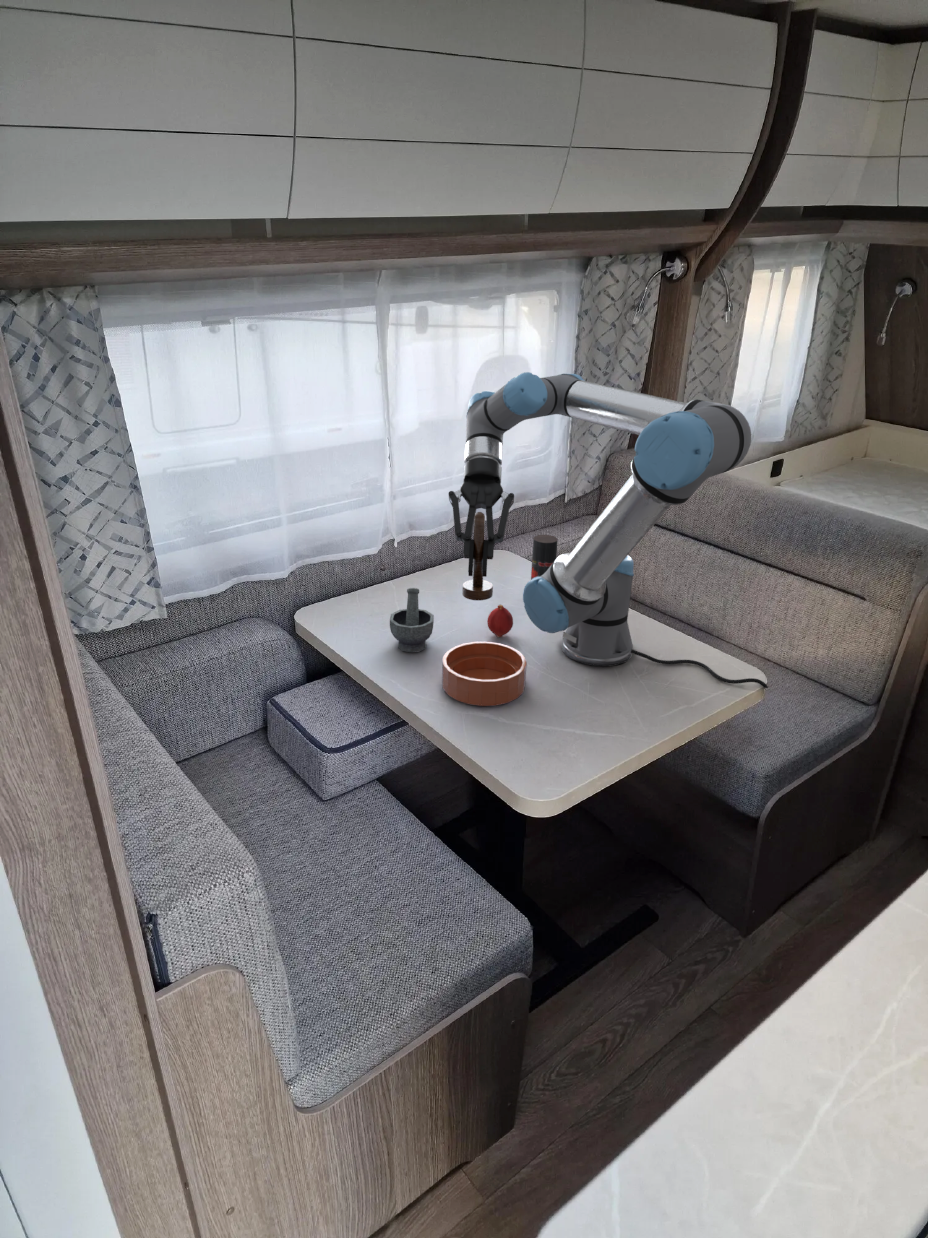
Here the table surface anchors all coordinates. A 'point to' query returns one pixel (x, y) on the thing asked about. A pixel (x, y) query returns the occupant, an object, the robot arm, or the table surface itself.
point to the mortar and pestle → (411, 624)
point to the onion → (500, 621)
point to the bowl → (484, 673)
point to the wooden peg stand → (478, 565)
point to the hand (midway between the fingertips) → (477, 573)
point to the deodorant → (543, 554)
